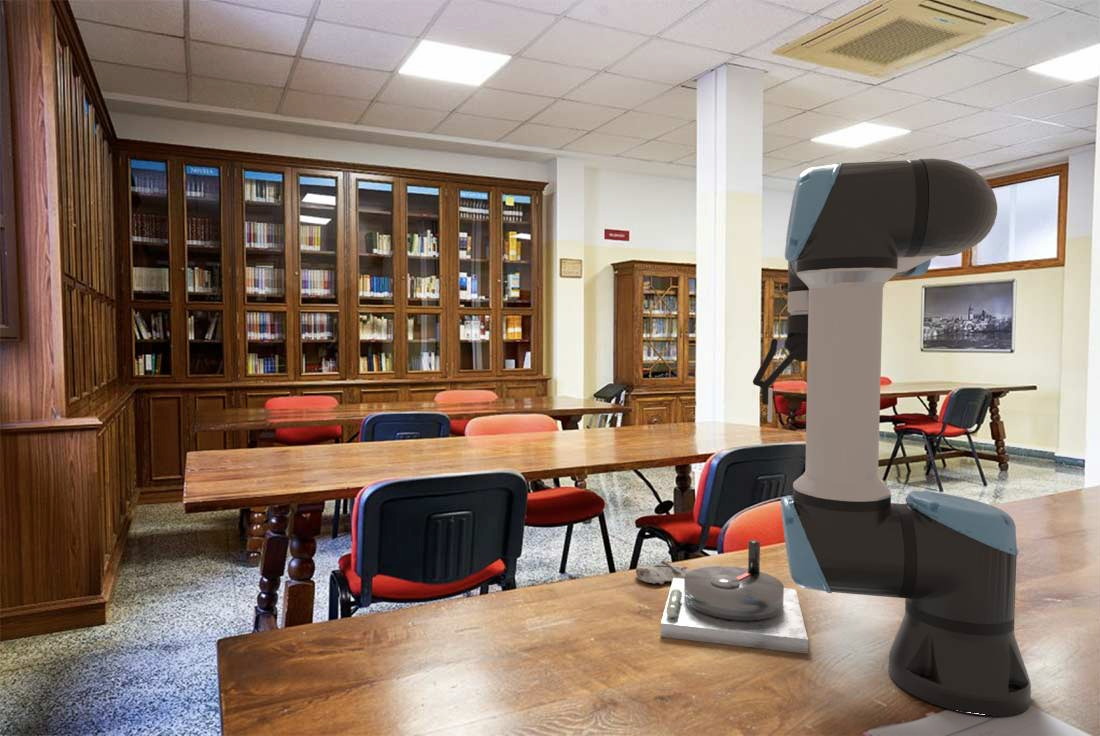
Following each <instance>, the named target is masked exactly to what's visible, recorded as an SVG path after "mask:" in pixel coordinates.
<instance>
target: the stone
mask: <svg viewBox="0 0 1100 736" xmlns="http://www.w3.org/2000/svg"><path fill="white" fill-rule="evenodd" d="M649 567H650V568H649ZM643 568H645V569H643ZM690 571H691V569H688V567H686V566H681V565H679V564H676V563H675V564H673V563H667V562H666V561H665V560H661V561H660V562H656V563H653V564H649V565H647V566H646V565H645V566H644V565H640V566H638V567H636V568H635V574H636V577H637V578H636V579H637V580H638V581H640V582H641V581H643V582H645V583H649V584H653V585H656V584H660V585H664V584H665V582H672V581H673V578H681V579H684V577H685V575H686V574H687V573H688V572H690Z"/></svg>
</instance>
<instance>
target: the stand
mask: <svg viewBox="0 0 1100 736" xmlns="http://www.w3.org/2000/svg"><path fill="white" fill-rule="evenodd" d="M666 599H667V600H666V602H665V607H664V610H663V614H662V618H661V622H660V637H661V638H668V639H675V640H676V639H678V640H684V641H685V640H686V641H693V642H703V643H710V644H719V645H727V646H729V645H730V646H736V647H746V648H752V649H753V648H755V649H763V650H770V651H778V652H779V651H780V652H787V653H795V654H796V653H797V654H804V655H805V654H806V655H808V654H809V653H808V651H809V638H808V633H807V629H806V626H805V622H804V618H803V614H802V609H801V606H800V601H799V597H798V592H797V589H796V588H790V587H789V588H787V587H784V602H783V610H782V612H781V613H779V614H778V615H776V616H773V617H770V618H766V619H759V620H734V619H726V618H720V617H716V616H712V615H708V614H705V613H703V612H700V611H698V610H696V609H694V608H692V607H691V606H689V605H688V604H687V603H686V601H685V599H684V578H682V579H681V578H673V581H671V585H670V588H669V593H668V596H667V598H666Z"/></svg>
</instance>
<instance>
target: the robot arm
mask: <svg viewBox="0 0 1100 736" xmlns="http://www.w3.org/2000/svg"><path fill="white" fill-rule="evenodd" d="M793 191H794V192H793V196H792V201H791V205H790V212H789V218H788V223H787V231H786V240H785V249H784V259H785V260H786V261H787V270H788V271H787V281H788V283H787V284H788V288H787V312H788V313H789V314H790V315H788V317H787V321H786V323H787V324H786V339H785V340H782V339H777V338H772V339H771V340H770V344H769V350H768V352H767V354H766V356H765V357H764V359H763V361H762V362H761V365H760V367H759V368H758V370H757V373H756V374H755V375H754V378H753V380H752V384H753V385H754V386H757V387H760V389H761V403H762V405H765V406H767V423H773V390H774V389H773V388H772V387H771V388H770V386H771V385H772V384H773V383H774V382H775V380H777V378H778V377H779V376H780V375H781V374H782V373H783V371H785V370H786V369H787V368H788V366H789V365H790V364H792V362H793V361H796V362H800V363H801V362H802V363H803V362H807V367H806V368H807V373H806V375H807V376H806V416H805V417H806V418H805V419H806V421H805V422H806V425H805V428H806V429H805V433H806V434H805V471H804V472H803V474H802V475H800V476H799V477H798V478H797V479H796V480H794V481H793V484H792V496H791V495H786V496H783V497H781V498H780V505H781V506H780V508H781V509H780V510H781V520H782V529H783V535H784V543H785V549H786V550H785V551H786V558H787V564H788V569H789V574H790V577H791V579H792V581H793V582H794V583H795V584H796V585H797V586H799V588H803V589H805V590H806V589H808V590H812V591H813V590H814V591H820V592H826V593H827V594H832V593H838V594H849V595H859V596H860V595H861V596H871V597H882V598H884V597H886V598H898V599H900V598H901V599H905V601H904V605H905V606H904V615H903V618H902V620H901V622H900V625H899V628H898V630H897V633H896V635H895V638H894V640H893V642H892V644H891V647H890V650H889V654H888V673H889V676H890V678H891V680H892V681H893V682H894V683H895V684H896V685H897V686H898V687H900V688H901V689H903V690H904V691H906V692H907V693H909V694H910V695H911V696H914V697H916V698H918V699H920V700H922V701H924V702H927V703H929V704H932V705H934V706H937V707H941V708H944V709H948V710H951V711H954V710H958V711H962V712H961V713H963V712H971V713H979V714H985V715H995V716H994V717H1008V716H1014V715H1015V716H1016V715H1019V714H1021V713H1024V712H1025V711H1026V710H1028V709H1029V707H1030V706H1031V701H1032V696H1031V695H1032V689H1031V688H1032V685H1031V680H1030V677H1029V673H1028V671H1027V668H1026V665H1025V662H1024V658H1023V656H1022V652H1021V650H1020V648H1019V645H1018V642H1017V641H1018V640H1017V639H1016V635H1015V634H1016V633H1015V615H1016V585H1017V583H1016V579H1017V560H1018V557H1017V556H1019V549H1018V544H1017V531H1016V530H1017V529H1016V524H1015V521H1014V519H1013V518H1012V516H1010V515H1009V514H1008V513H1007V512H1006V511H1004V510H1003V509H1001V508H999V507H996V506H994V505H992V504H988V503H984V502H981V501H979V500H974V499H971V498H967V497H963V496H958V495H953V494H948V493H942V492H935V491H927V490H922V491H921V490H919V491H918V490H913V491H909V493H908V494H907V496H906V497H905V503H896V502H892V491H891V489H890V488H889V487H888V485H886V484H885V482H883V481H882V480H881V479H880V477H879V459H880V458H879V456H880V455H879V452H880V422H881V421H880V416H881V411H880V410H881V379H882V378H881V373H882V371H881V370H882V341H883V340H882V338H883V337H882V335H883V332H882V331H883V305H884V304H883V302H884V301H883V297H884V295H883V294H884V287H885V285H886V283H887V282H889V281H890V280H891V279H892V278H894V277H895V278H896V277H897V278H898V277H900V278H909V277H916V276H918V277H919V276H923V275H925V274H926V273H927V272H928V270H929V267H930V266H931V262H932V259H934V258H936V257H950V256H956V255H959V254H961V253H963V252H964V253H965V252H966V251H968V250H970V249H972V248H974V247H976V246H977V245H978V244H979V243H981V242H983V240H984V239H985V238H986V237H987V236H988V235H989V233H991V230H992V229H993V227H994V225H995V223H996V220H997V215H998V203H997V199H996V198H997V197H996V195H995V192H994V190H993V189H992V186H991V185H990V183H989V182H988V181H987V180H986V179H985V178H984V177H983V176H982V175H981V174H979V173H978V172H977V171H976V170H974V169H972V168H970V167H968V166H966V165H963V164H961V163H959V162H956V161H952V160H948V159H941V158H939V159H938V158H920V159H912V160H911V159H909V160H908V159H907V160H885V161H884V160H883V161H882V160H881V161H863V162H861V161H859V162H836V163H835V164H827V165H821V166H813V167H809V168H806V169H805V170H804V171H802V173H800V174H799V176H798V178H797V180H796V184H795V188H794V190H793ZM782 347H785V349H786V350H787V351H788V355H787V356H786V357H785V358H784V359H783V360H782V362H780V363H779V365H778V366H777V367H776V368H775V369H774V370H773V371H772V372H771V373H770V375H769V376H767V378H766V379H765V380H762V379H763V377H764V375H765V374H766V371H767V369H768V368H769V366H770V364H771V362H772V361H773V358H774V357H775V355H776V352H777V351H780V350H781V349H782ZM958 711H957V712H958Z"/></svg>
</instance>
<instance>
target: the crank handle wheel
mask: <svg viewBox="0 0 1100 736" xmlns="http://www.w3.org/2000/svg"><path fill="white" fill-rule="evenodd" d="M747 545H748V554H747V559H748V560H747V563H748V565H747V568H746V567H738V566H727V565H726V566H723V565H720V566H717V565H715V566H704V567H700V568H699V567H698V568H695V569H692V570H690V572H688V573H687V574H686V575H685V577H684V578H683V579H684V599H685V601H686V603H687V604H688V605H689V606H691V607H692V608H694V609H696V610H698V611H700V612H703V613H705V614H708V615H712V616H716V617H720V618H726V619H734V620H759V619H766V618H770V617H773V616H776V615H778V614H779V613H781V612H782V610H783V602H784V588H785V586H784V584H783V583H782V581H780V580H779V578H776V577H775V576H772V575H771V574H768V573H765V572H762V571H761V570H760V569H761V568H760V567H761V565H760V563H761V541H759V540H756V539H751V540H748V544H747Z"/></svg>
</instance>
